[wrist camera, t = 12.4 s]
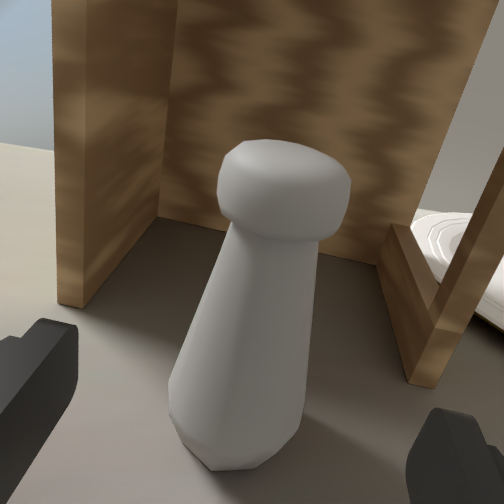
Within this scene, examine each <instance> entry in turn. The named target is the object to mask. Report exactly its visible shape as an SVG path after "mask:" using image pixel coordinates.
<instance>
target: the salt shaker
mask: <svg viewBox="0 0 504 504" xmlns="http://www.w3.org/2000/svg"><path fill="white" fill-rule="evenodd" d="M350 188H351V178H350V176H349V175H348V173H347V171H346V170H345V168H344V167H343V166H342V165H341V164H340V163H339V162H338V161H337V160H335V159H334V158H332V157H330V156H328V155H326V154H324V153H322V152H319V151H317V150H315V149H313V148H310V147H307V146H304V145H301V144H297V143H292V142H287V141H281V140H270V139H262V140H251V141H243V142H242V143H241V144H239V145H238V146H237V147H235V148H234V149H233V150H231V151H230V152H229V153H228V154H226V155H225V158H224V160H223V163H222V166H221V169H220V172H219V176H218V185H217V198H218V203H219V207H220V210H221V214H222V215H224V216H225V217H226V218H228V219H229V220H230V221H231V223H230V226H229V229H228V231H227V234H226V237H225V240H224V242H223V245H222V248H221V251H220V253H219V256H218V258H217V261H216V263H215V266H214V268H213V271H212V273H211V276H210V278H209V281H208V283H207V286H206V288H205V291H204V293H203V296H202V298H201V301H200V303H199V306H198V308H197V311H196V313H195V316H194V318H193V321H192V323H191V326H190V328H189V331H188V333H187V336H186V338H185V341H184V343H183V346H182V348H181V351H180V353H179V356H178V358H177V361H176V363H175V366H174V368H173V371H172V373H171V376H170V378H169V381H168V393H169V416H170V418H171V420H172V422H173V424H174V427H175V429H176V431H177V433H178V435H179V437H180V440H181V442H182V443H183V444H184V445H185V446H186V447H187V448H188V449H189V450H190V451H191V452H192V453H193V454H194V455H195V456H196V457H197V458H198V459H199V460H200V461H201V462H203V463H204V464H205V465H206V466H207V467H208V468H209V469H210V470H211V471H225V470H243V469H255V468H256V467H258V466H259V465H261V464H262V463H263V462H265V461H266V460H268V459H269V458H270V457H272V456H273V455H275V454H276V453H277V452H278V451H279V450H280V449H281V448H282V447H283V446H284V445H285V444H286V443H287V442H288V441H289V440H290V439H291V437H292V436H293V435H294V434H295V433H296V431H297V430H298V428H299V426H300V422H301V418H302V413H303V409H304V405H305V395H306V384H307V372H308V361H309V349H310V338H311V327H312V315H313V304H314V292H315V281H316V270H317V258H318V247H319V241H321V240H323V239H326V238H328V237H330V236H332V235H334V234H335V232H336V231H337V230H338V229H339V227H340V225H341V223H342V220H343V218H344V215H345V212H346V210H347V206H348V202H349V196H350Z"/></svg>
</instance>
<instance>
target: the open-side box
mask: <svg viewBox="0 0 504 504" xmlns="http://www.w3.org/2000/svg"><path fill="white" fill-rule="evenodd" d="M51 2H52V3H51V6H52V56H53V102H54V103H53V105H54V155H55V205H56V254H57V303H59V304H64V305H68V306H73V307H77V308H81V309H83V308H84V307H85V306H86V304H87V303H88V302H89V301H90V299H91V298H92V297H93V296H94V294H95V293H96V292H97V291H98V289H99V288H100V287H101V286H102V284H103V283H104V282H105V281H106V279H107V278H108V277H109V276H110V274H111V273H112V272H113V271H114V269H115V268H116V267H117V266H118V264H119V263H120V262H121V261H122V260H123V258H124V257H125V256H126V255H127V253H128V252H129V251H130V250H131V248H132V247H133V246H134V245H135V243H136V242H137V241H138V240H139V238H140V237H141V236H142V235H143V233H144V232H145V231H146V230H147V228H148V227H149V226H150V225H151V223H152V222H153V221H154V220H155V219H156V217H157V216H158V217H162V218H167V219H171V220H176V221H180V222H185V223H189V224H194V225H198V226H203V227H207V228H211V229H216V230H220V231H225V232H227V231H228V229H229V226H230V223H231V221H230V220H229V219H228V218H226V217H225V216H224V215H222V214H221V210H220V207H219V203H218V198H217V185H218V176H219V172H220V169H221V166H222V163H223V160H224V158H225V155H226V154H228V153H229V152H230V151H231V150H233V149H234V148H235V147H237V146H238V145H239V144H241V143H242V142H243V141H251V140H262V139H270V140H281V141H287V142H292V143H297V144H301V145H304V146H307V147H310V148H313V149H315V150H317V151H319V152H322V153H324V154H326V155H328V156H330V157H332V158H334V159H335V160H337V161H338V162H339V163H340V164H341V165H342V166H343V167H344V168H345V170H346V171H347V173H348V175H349V176H350V178H351V188H350V196H349V202H348V206H347V210H346V212H345V215H344V218H343V220H342V223H341V225H340V227H339V229H338V230H337V231H336V232H335V234H334V235H332V236H330V237H328V238H326V239H323V240H321V241H319V247H318V253H323V254H327V255H332V256H336V257H341V258H345V259H350V260H354V261H359V262H363V263H367V264H372V265H376V268H377V272H378V276H379V279H380V283H381V287H382V290H383V294H384V298H385V301H386V305H387V309H388V312H389V316H390V319H391V323H392V327H393V330H394V334H395V338H396V341H397V345H398V349H399V352H400V356H401V360H402V363H403V367H404V370H405V374H406V378H407V381H408V383H410V384H414V385H418V386H423V387H427V388H432V389H434V388H435V386H436V384H437V382H438V380H439V378H440V377H441V375H442V373H443V371H444V369H445V367H446V365H447V363H448V361H449V359H450V357H451V355H452V354H453V352H454V350H455V348H456V346H457V344H458V342H459V340H460V338H461V336H462V334H463V332H464V331H465V329H466V327H467V325H468V323H469V321H470V319H471V317H472V315H473V313H474V311H475V309H476V308H477V306H478V304H479V302H480V300H481V298H482V296H483V294H484V292H485V290H486V288H487V287H488V285H489V283H490V281H491V279H492V277H493V275H494V273H495V271H496V269H497V267H498V265H499V264H500V262H501V260H502V258H503V256H504V148H503V150H502V152H501V154H500V156H499V158H498V161H497V163H496V165H495V167H494V169H493V171H492V174H491V176H490V178H489V180H488V182H487V185H486V187H485V189H484V191H483V193H482V195H481V197H480V200H479V202H478V204H477V206H476V208H475V210H474V213H473V215H472V217H471V219H470V221H469V223H468V226H467V228H466V230H465V232H464V234H463V236H462V239H461V241H460V243H459V245H458V247H457V249H456V252H455V254H454V256H453V258H452V260H451V262H450V265H449V267H448V269H447V271H446V273H445V275H444V278H443V280H442V282H441V284H440V286H439V285H438V283H437V281H436V279H435V277H434V275H433V273H432V271H431V269H430V267H429V265H428V263H427V261H426V259H425V257H424V255H423V253H422V251H421V249H420V247H419V245H418V243H417V241H416V239H415V237H414V235H413V233H412V231H411V229H410V225H411V222H412V220H413V217H414V215H415V212H416V210H417V207H418V205H419V202H420V200H421V197H422V194H423V192H424V189H425V187H426V184H427V182H428V179H429V177H430V174H431V172H432V169H433V167H434V164H435V161H436V159H437V156H438V154H439V152H440V149H441V146H442V144H443V141H444V139H445V136H446V134H447V131H448V129H449V126H450V124H451V121H452V119H453V116H454V113H455V111H456V108H457V106H458V103H459V101H460V98H461V96H462V93H463V91H464V88H465V85H466V83H467V81H468V78H469V75H470V73H471V70H472V68H473V65H474V63H475V60H476V58H477V55H478V52H479V50H480V47H481V45H482V43H483V40H484V37H485V35H486V32H487V30H488V27H489V25H490V22H491V20H492V17H493V15H494V12H495V10H496V7H497V4H498V2H499V0H51Z"/></svg>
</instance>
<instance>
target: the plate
mask: <svg viewBox="0 0 504 504" xmlns="http://www.w3.org/2000/svg"><path fill="white" fill-rule="evenodd" d="M472 215H473V214H470V213H453V212H451V213H441V214H432V215H428V216H425V217H423V218H421V219H419V220H416V221H414V223H413V224H412V226H411V228H410V229H411V231H412V233H413V235H414V237H415V239H416V241H417V243H418V245H419V247H420V249H421V251H422V253H423V255H424V257H425V259H426V261H427V263H428V265H429V267H430V269H431V271H432V273H433V275H434V277H435V279H436V281H437V283H438V285H439V286H440V284H441V282H442V280H443V278H444V275H445V273H446V271H447V269H448V267H449V265H450V262H451V260H452V258H453V256H454V254H455V252H456V249H457V247H458V245H459V243H460V241H461V239H462V236H463V234H464V232H465V230H466V228H467V226H468V223H469V221H470V219H471V217H472ZM474 314H475V315H477V316H478V317H480V318H481V319H483V320H484V321H486V322H487V323H489V324H490V325H492V326H493V327H495V328H496V329H498V330H499V331H501V332H502V333H504V256H503V258H502V260H501V262H500V264H499V265H498V267H497V269H496V271H495V273H494V275H493V277H492V279H491V281H490V283H489V285H488V287H487V288H486V290H485V292H484V294H483V296H482V298H481V300H480V302H479V304H478V306H477V308H476V309H475V311H474Z"/></svg>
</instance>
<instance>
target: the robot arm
mask: <svg viewBox="0 0 504 504" xmlns="http://www.w3.org/2000/svg"><path fill="white" fill-rule="evenodd" d="M77 381H78V328H77V326H76V325H72V324H68V323H63V322H59V321H54V320H50V319H45V318H41V319H39V320H37V321H36V322H35V323H34V324H33V326H32V327H31V328H30V329H29V330H28V331H27V332H26V333H25V334H24V335H23V336H22V337H21V338H18V337H14V336H8V337H6V338H4V339H3V340H1V341H0V504H6V503H7V501H8V500H9V498H10V497H11V495H12V493H13V492H14V490H15V489H16V487H17V486H18V484H19V482H20V481H21V479H22V478H23V476H24V475H25V473H26V471H27V470H28V468H29V467H30V465H31V464H32V462H33V460H34V459H35V457H36V456H37V454H38V452H39V451H40V449H41V448H42V446H43V445H44V443H45V441H46V440H47V438H48V437H49V435H50V434H51V432H52V430H53V429H54V427H55V426H56V424H57V422H58V421H59V419H60V418H61V416H62V415H63V413H64V411H65V410H66V408H67V407H68V405H69V403H70V401H71V399H72V397H73V395H74V392H75V389H76V386H77ZM406 483H407V488H408V493H409V497H410V502H411V504H504V456H503V455H502V454H501V453H500V451H499V450H498V449H497V448H496V447H495V446H491V445H487V444H486V442H485V439H484V437H483V435H482V432H481V430H480V428H479V425H478V423H477V421H476V420H475V418H474V417H473V416H471V415H467V414H463V413H458V412H454V411H449V410H445V409H440V408H434V409H433V410H432V411H431V412H430V414H429V416H428V418H427V420H426V421H425V423H424V425H423V427H422V429H421V431H420V433H419V435H418V437H417V438H416V440H415V442H414V444H413V446H412V448H411V450H410V452H409V454H408V457H407V462H406Z"/></svg>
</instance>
